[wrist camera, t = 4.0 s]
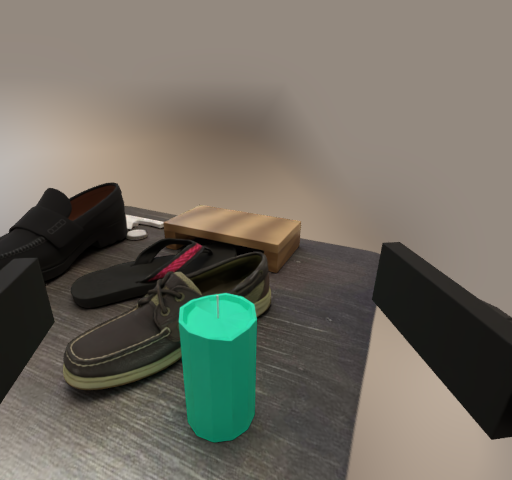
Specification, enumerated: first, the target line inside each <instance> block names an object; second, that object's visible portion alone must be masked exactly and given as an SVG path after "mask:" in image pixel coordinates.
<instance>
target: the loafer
mask: <svg viewBox="0 0 512 480" xmlns="http://www.w3.org/2000/svg"><path fill="white" fill-rule="evenodd" d="M127 234H128V231H127V221H126V215H125V212H124V201H123V198H122V195H121V190H120V188H119V186H118V184H116V183H105V184H102V185H99V186H96V187H93V188H90V189H88V190H86V191H83V192H81V193H79V194H77V195H75V196H74V197H71V198H70V199H68V198H67V196H66V195H65V194H64V193H62V192H60V191H58V190H56V189H53V188H48V189H47V190H46V191H45V192H44V194H43V196H42V198H41V199H40V201H39V202H38V204H37V205H36V206H35V207H33V208H31V209H30V210H29V211H28V212H27V213H26V214H25V215H24V216H23V217H22V218H21V219H20V220H19V221H18V222H17V223H16V224H15V225H14V226H12V227H11V228H10V230H9V233H8V234H6V235H4V236H2V237H0V270H1V269H2V268H4V267H5V266H6V265H7V264H8V263H10V262H11V261H12V260H13V259H19V258H38V261H39V265H40V268H41V272H42V276H43V280H44V281H47V280H49V279H52V278H54V277H56V276H58V275H60V274H62V273H63V272H65V271H66V270H67V269H68V268H69V267H70V265H71V264H72V263H73V262H74V261H75V259H76V258H77V257H78V256H79V255H80V254H81V253H82V252H83V251H84V250H85V249H86V248H88V247H89V246H90V245H93V246H96V247H98V248H101V247H104V246H107V245H110V244H113V243H115V242H116V241H120V240H122V239H124V238H125V237H126V236H127Z"/></svg>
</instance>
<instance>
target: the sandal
mask: <svg viewBox="0 0 512 480" xmlns="http://www.w3.org/2000/svg"><path fill="white" fill-rule="evenodd" d="M171 244H181V245H188V246H187V247H186V248H184V249H183V250H182V251H181V252H180V253H179V254H176V255H169V256H162V257H156V258H154V257H155V256H156V255H157V254H158V253H159V251H161V250H162V249H163V248H164V247H166V246H168V245H171ZM233 257H236V248H235V246H234V245H233V244H230V243H225V242H215V243H211V244H207V245H203V246H201V245H200V244H198V243H196V242H194V241H191V240H184V239H174V238H166V239H162V240H159V241H158V242H156V243H154V244H152V245H151V246H149V247H148V248H146V249H145V250H144V251H142V252H141V253H140V254H139V256H138V257H137V259H136V261H132V262H127V263H122V264H118V265H115V266H112V267H109V268H107V269H104V270H99V271H96V272H92V273H89V274H86V275H84V276H82V277H80V278H79V279H77V280H76V281H75V282H74V283H73V285H72V287H71V294H72V296H73V299H74V301H75V302H76V303H77V304H78V305H79V306H81V307H85V308H91V307H98V306H103V305H107V304H109V303H114V302H118V301H121V300H126V299H128V298H133V297H137V296H142V295H145V294H148V291H149V290H153V289H154V288H155V287H156V285H157V280H158V279H163V278H164V276H165V275H166V273H168V272H170V271H172V272H174V273H175V272H181V273H183V274H184V275H186V274H190V273H193V272H196V271H198V270H200V269H203V268H206V267H209V266H211V265H214V264H216V263H219V262H221V261H224V260H227V259H230V258H233Z"/></svg>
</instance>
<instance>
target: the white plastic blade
mask: <svg viewBox="0 0 512 480" xmlns="http://www.w3.org/2000/svg"><path fill="white" fill-rule="evenodd" d="M126 221H127V229H132V228H133V226H138V224H145V225H150V226H154V227H158V228H162V227H164V222H161V221H156V220H150V219H145V218H140V217H135V216H130V215H126Z"/></svg>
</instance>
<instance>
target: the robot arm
mask: <svg viewBox="0 0 512 480" xmlns="http://www.w3.org/2000/svg"><path fill="white" fill-rule="evenodd" d="M372 300H373V301H374V302H375V304H376V305H377V306H378V307H379V308H380V309H381V311H382V312H383V313H384V314H385V315H386V317H388V319H389V320H390V321H391V322H392V324H393V325H394V326H395V327H396V328H397V329H398V331H399V332H400V333H401V334H402V335H403V336H404V338H405V339H406V340H407V341H408V342H409V344H410V345H411V346H412V347H413V348H414V349H415V351H416V352H417V353H418V354H419V355H420V356H421V358H422V359H423V360H424V361H425V362H426V363H427V365H428V366H429V367H430V368H431V369H432V370H433V372H434V373H435V374H436V375H437V376H438V378H439V379H440V380H441V381H442V382H443V383H444V385H445V386H446V387H447V388H448V389H449V390H450V392H451V393H452V394H453V395H454V396H455V397H456V399H457V400H458V401H459V402H460V403H461V404H462V406H463V407H464V408H465V409H466V410H467V411H468V413H469V414H470V415H471V416H472V417H473V419H474V420H475V421H476V422H477V423H478V424H479V426H480V427H481V428H482V429H483V430H484V432H485V433H486V434H487V435H488V436H489V437H490V439H492V440H493V439H500V438H506V437H512V318H511V317H510V316H508V315H507V314H506V313H504V312H503V311H501V310H500V309H498V308H497V307H495V306H492V305H491V304H488V303H486V302H484V301H482V300H480V299H478V298H477V297H475V296H474V295H473V294H471V293H470V292H468V291H467V290H466V289H464V288H463V287H461V286H460V285H459V284H457V283H456V282H454V281H453V280H452V279H450V278H449V277H448V276H446V275H445V274H443V273H442V272H441V271H439V270H438V269H436V268H435V267H434V266H432V265H431V264H429V263H428V262H427V261H425V260H424V259H423V258H421V257H420V256H418V255H417V254H416V253H414V252H413V251H411V250H410V249H409V248H407V247H406V246H404V245H403V244H402V243H400V242H394V243H383V245H382V249H381V255H380V260H379V265H378V270H377V276H376V281H375V286H374V292H373V297H372ZM54 322H55V321H54V318H53V314H52V310H51V306H50V302H49V299H48V295H47V291H46V287H45V283H44V280H43V276H42V272H41V268H40V265H39V261H38V258H19V259H13V260H12V261H11V262H10V263H8V264H7V265H6V266H5V267H4V268H2V269H1V270H0V404H1V402H2V401H3V399H4V398H5V396H6V395H7V393H8V392H9V390H10V389H11V387H12V386H13V384H14V382H15V381H16V379H17V378H18V376H19V375H20V373H21V372H22V370H23V369H24V367H25V366H26V364H27V363H28V361H29V360H30V358H31V357H32V355H33V354H34V352H35V351H36V349H37V348H38V346H39V345H40V343H41V342H42V340H43V339H44V337H45V336H46V334H47V333H48V331H49V329H50V328H51V326H52V325H53V323H54Z"/></svg>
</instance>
